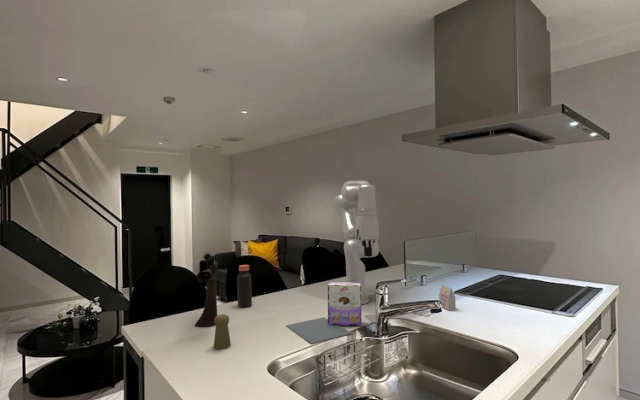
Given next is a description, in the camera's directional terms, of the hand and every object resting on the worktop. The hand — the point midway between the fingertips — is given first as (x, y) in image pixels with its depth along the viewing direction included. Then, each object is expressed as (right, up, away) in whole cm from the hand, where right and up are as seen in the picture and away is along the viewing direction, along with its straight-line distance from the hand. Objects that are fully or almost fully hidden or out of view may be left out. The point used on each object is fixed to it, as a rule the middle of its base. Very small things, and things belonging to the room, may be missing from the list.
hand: (368, 255), depth 152 cm
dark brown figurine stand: (-69, -29, -3) cm, 75 cm away
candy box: (-11, -27, -6) cm, 30 cm away
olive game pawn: (-56, -28, -26) cm, 68 cm away
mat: (-22, -27, -13) cm, 37 cm away
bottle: (-58, -29, +23) cm, 69 cm away
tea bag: (+38, -26, +11) cm, 48 cm away
